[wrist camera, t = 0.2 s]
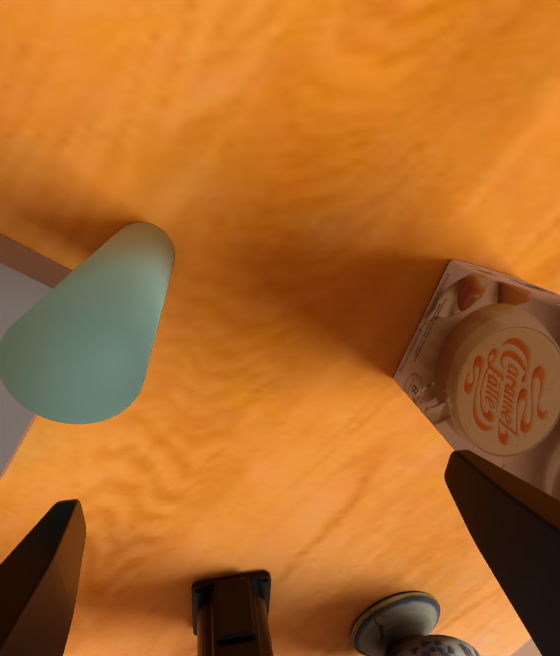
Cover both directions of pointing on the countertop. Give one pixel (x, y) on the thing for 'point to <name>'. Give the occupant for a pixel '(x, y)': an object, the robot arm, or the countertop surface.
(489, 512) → the robot arm
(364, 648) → the apothecary jar
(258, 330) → the countertop surface
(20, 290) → the socket plate
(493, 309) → the coffee box
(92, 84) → the countertop surface
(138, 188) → the countertop surface
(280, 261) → the countertop surface
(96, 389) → the teal peg
